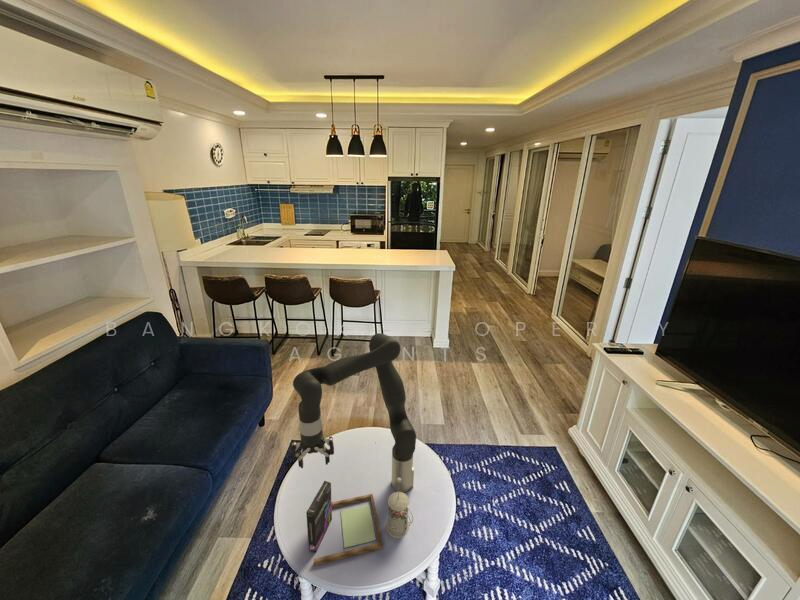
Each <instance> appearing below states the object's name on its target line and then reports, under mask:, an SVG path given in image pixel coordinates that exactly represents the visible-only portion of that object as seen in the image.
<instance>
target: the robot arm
mask: <svg viewBox="0 0 800 600" xmlns="http://www.w3.org/2000/svg"><path fill="white" fill-rule="evenodd" d="M368 348H369V352H365V353H362V354H359V355H358V354H356V355H350V356H346V357H345V356H344V357H343V358H339V359H337V360H335V361H333V362H330V363H329V364H326V365H324V366H323V365H322V366H318V367H314V368H310V369H305V370H303V371H301V372H300V373H298V374H297V375H296V376H295V377H294V379H293V381H292V386H293V387H292V388H293V389H294V391H296V393H297V395H299V396H300V399H301V401H299V403H298V406H297V407H298V408H297V409H298V419H299V420H298V427H299V429H298V430H299V435H300V436H299V437H300V442H296V440H294V441H292V443H291V460H292V461H295V460H297V461H298V467H299V468H300V469H304V457H306V455H307V454H308V455H310V454H317V453H320V454H321V455H323V456H325V457H324V459H325V460H324V461H325V465H326V466H327V465H328V464H329V463H330V456H331V455H332V456H333V455H334V454H335V446H334V444H335V443H334V439H333V436H332V435H331V436H329V437H328V438H324V430H323V419H322V418H323V417H322V414H321V412H322V411H321V402H322V398H323V388H322V385H323V384H324V385H327V386H329V387H330V386H333V385H336V384H338V383H340V382H342V381H344V380H346V379H348V378H350V377H352V376H354V375H356V374H357V375H358V374H359V373H361V372H364V371H367V370H370V369H374V368H375V370H376V373H377V378H378V381H379V386H380V391H381V394H382V399H383V401H384V405H385V407H386V409H387V412H388V417H389V426H390V427H389V428H390V433H391V435H392V437H393V440H394V444H393V446H392V450H391V451H392V452H391V486H392V488H393V490H395V492H398V486H399V492H402V493H406V492H409V491H410V490H411V488H414V479H415V475H414V474H415V470H414V466H413V465H414V453H415V450H416V445H417V444H416V443H417V433H416V431H415V429H414V427H413V425H412V423H411V421H410V419H409V416H408V415H407V412H406V407H405V404H406V399H407V398H406V397H407V395H406V390H405V386H404V382H403V379H402V377H401V376H400V374H399V372H398V371H397V369H396V367H395V365H394V363H393V362H394V361H395V360H396V359H397V358H398V357H399V355H400V352H401V345H400V343H399V341H397V339H395V338H393V337H391V336H389V335H387V334H385V333H374V334H373V335H372V337H370V340H369V343H368ZM326 445H327V446H328V447H329V448H328V447H326ZM299 448H300V449H301V450H300V451H299V452H298V453H297V450H298V449H299ZM397 478H401V482H400V483H398V482H397Z"/></svg>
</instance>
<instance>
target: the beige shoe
mask: <svg viewBox="0 0 800 600" xmlns="http://www.w3.org/2000/svg"><path fill="white" fill-rule="evenodd" d="M397 482H398V483H400V482H401V478H397ZM409 503H410V500H409V496H408V495H407V494H406V493H405V492H399V486H398V491H395V492H392V493H391V494H390V495H389V497H388V498H387V504H388V506H389V507H388V511H387V512H388V513H387V515H388V516H387V521H386V525H385V529H386V532H387V534H388V535H389V537H392V538H394V539H401V538H403V537H405V536H406V535H408V534H409V533H408V532H409V530H410V526H411V524H412V523H413V522H414V516H413V513H412V512H411V510H410V508H408V505H409ZM409 512H410V514H411V516H412V520H411V519H410V516H409ZM408 520H409V521H408Z"/></svg>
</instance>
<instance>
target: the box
mask: <svg viewBox="0 0 800 600" xmlns="http://www.w3.org/2000/svg"><path fill="white" fill-rule="evenodd" d="M317 491H318V492H317V493H316V495H315V497H314V498H313V499H312V502H311V503H310V506H309V507H308V508H307V510H306V512H305V513H306V527H307V528H306V529H307V543H308V551H309V552H313V553H317V551H318V549H319V547H320V546H321V544H322V543H321V542H322V540H323V539H324V537H325V534H326V532H327V531H328V528H329V527H330V524H331V522H332V520H333V511H332V510H333V508H332V505H331V502H332V482H329V481H327V480H324V481H323V482H322V485H321V486H320V488H319V490H317Z"/></svg>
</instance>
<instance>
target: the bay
mask: <svg viewBox="0 0 800 600" xmlns="http://www.w3.org/2000/svg"><path fill="white" fill-rule="evenodd" d="M368 500H370V502H371V505H370V504H367V505H362V506H357V507H355V508H354V507H353V508H349V509H344V510H341V511H340V516H341V517H340V518H341V527H342V539H343V548H344V549H346V548H347V550H345V551H340V552H337V553H334V554H329V555H326V556H321V557H317V558H313V566H314V567H316V566H318V565H319V566H320V565H323V564H327V563H331V562H335V561H338V560H343V559H347V558H350V557H355V556H358V555H362V554H366V553H370V552H374V551H377V550H382V549H384V544H383V543H384V542H383V538H382V534H381V533H382V532H381V529H380V525H379V518H378V515H377V509H376V504H375V499H374V495H373V493H371V494H370V493H369V494H364V495H360V496H355V497H350V498H347V499H342V500H337V501H331V505H332V509H334V508H339V507H343V506H348V505H352V504H355V503H359V502H364V501H368ZM370 506H371V507H370ZM371 508H372V511H371ZM372 515H373V517H372ZM373 519H374V523H375V528H374V523H373ZM375 529H376V534H375ZM376 535H377V537H376ZM376 538H377V539H376ZM376 540H378V542H377V543H372V542H375V541H376ZM366 543H372V544H370V545H365V546H361V547H357V548H352V549H348V548H351V547H354V546H358V545H363V544H366Z"/></svg>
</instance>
